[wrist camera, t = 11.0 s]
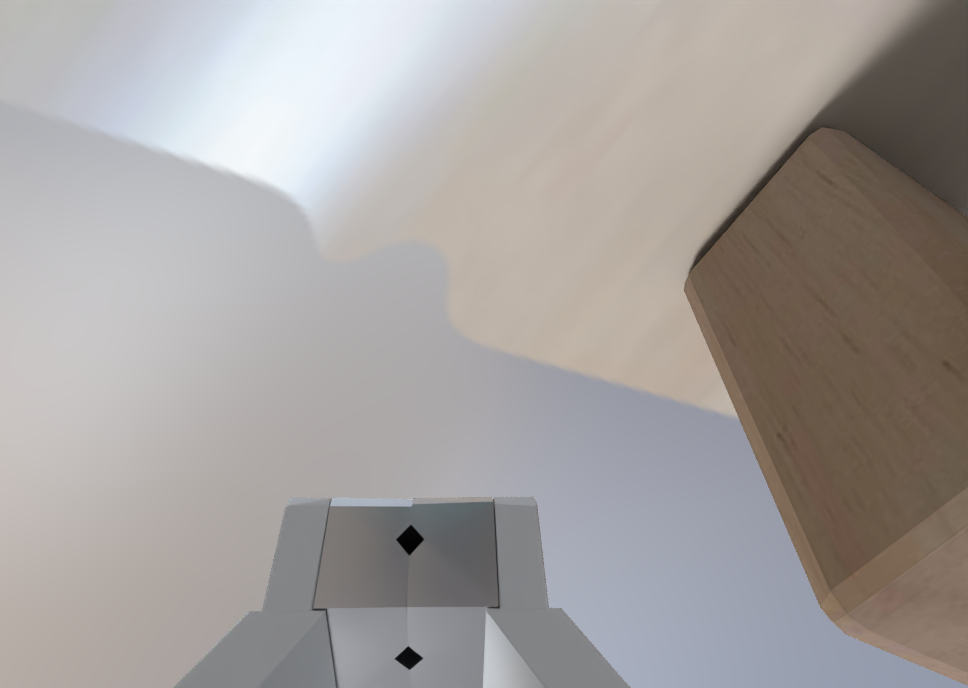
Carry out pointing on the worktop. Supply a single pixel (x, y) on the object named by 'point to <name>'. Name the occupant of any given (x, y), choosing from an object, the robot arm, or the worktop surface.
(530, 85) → the worktop surface
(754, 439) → the block
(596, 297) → the worktop surface
